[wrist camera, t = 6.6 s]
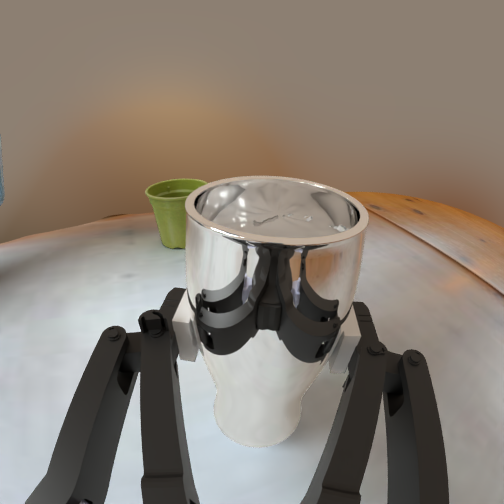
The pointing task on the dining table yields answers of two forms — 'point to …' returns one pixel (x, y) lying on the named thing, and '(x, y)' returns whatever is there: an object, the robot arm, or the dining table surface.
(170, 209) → the plant pot
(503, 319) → the dining table surface
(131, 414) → the dining table surface
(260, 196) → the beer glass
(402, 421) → the robot arm
